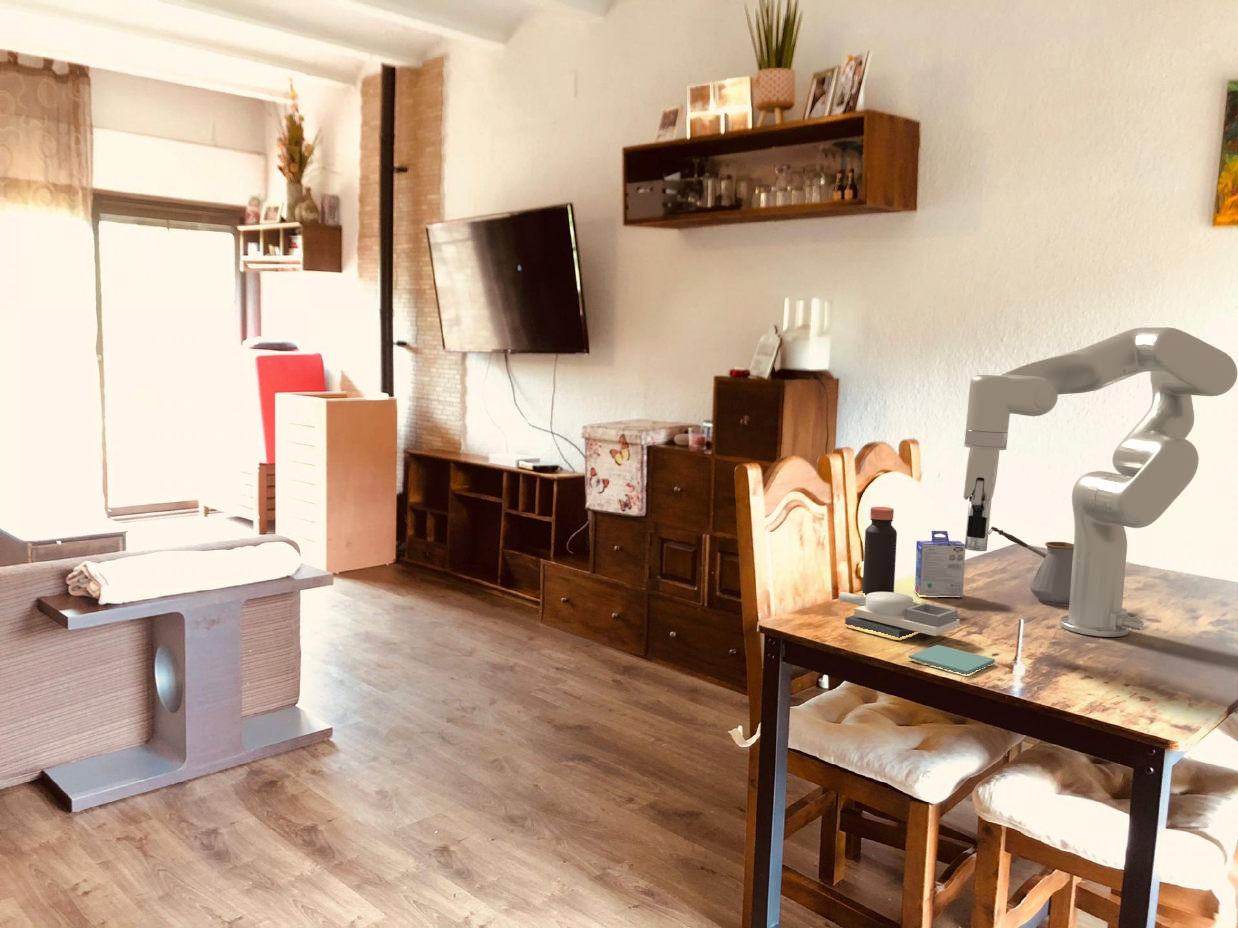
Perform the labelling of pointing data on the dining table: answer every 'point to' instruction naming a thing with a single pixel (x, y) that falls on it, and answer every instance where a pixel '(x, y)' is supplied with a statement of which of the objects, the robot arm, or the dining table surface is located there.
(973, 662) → the key mat
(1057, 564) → the coffee pot
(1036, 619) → the dining table surface
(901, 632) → the dark gray sponge cloth
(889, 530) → the bottle
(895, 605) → the white handled tool
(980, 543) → the grey piece
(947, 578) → the ink cartridge box
